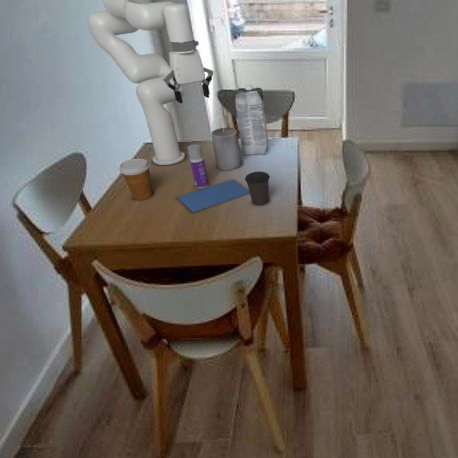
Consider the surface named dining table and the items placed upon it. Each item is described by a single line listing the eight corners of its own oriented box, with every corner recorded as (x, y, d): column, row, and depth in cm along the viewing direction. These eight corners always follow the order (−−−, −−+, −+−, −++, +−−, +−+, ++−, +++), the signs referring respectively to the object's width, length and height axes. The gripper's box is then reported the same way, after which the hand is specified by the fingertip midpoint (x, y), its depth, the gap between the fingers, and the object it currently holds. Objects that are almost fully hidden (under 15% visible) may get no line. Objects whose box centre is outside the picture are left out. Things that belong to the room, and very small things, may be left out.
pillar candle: (224, 159, 175) (218, 123, 167) (246, 161, 173) (241, 125, 165) (212, 169, 167) (205, 132, 159) (235, 171, 165) (229, 134, 157)
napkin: (177, 198, 148) (177, 197, 148) (232, 180, 159) (232, 179, 159) (193, 212, 139) (192, 211, 139) (250, 192, 150) (249, 191, 150)
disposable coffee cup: (122, 199, 148) (111, 167, 141) (141, 187, 155) (132, 156, 149) (144, 203, 145) (134, 171, 138) (163, 191, 152) (154, 159, 146)
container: (205, 189, 153) (196, 149, 145) (193, 188, 154) (184, 148, 146) (210, 183, 157) (203, 144, 149) (199, 182, 158) (190, 143, 150)
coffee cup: (265, 209, 140) (261, 181, 135) (243, 205, 143) (239, 178, 137) (276, 197, 147) (273, 171, 141) (255, 194, 149) (252, 167, 144)
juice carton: (267, 155, 178) (259, 89, 163) (242, 156, 178) (232, 89, 163) (269, 147, 185) (262, 83, 170) (245, 147, 185) (236, 83, 170)
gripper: (203, 41, 146) (212, 92, 155) (152, 48, 137) (165, 102, 146) (212, 44, 141) (221, 97, 150) (160, 52, 132) (173, 107, 141)
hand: (193, 99), depth 148 cm, fingers open, 9 cm apart
